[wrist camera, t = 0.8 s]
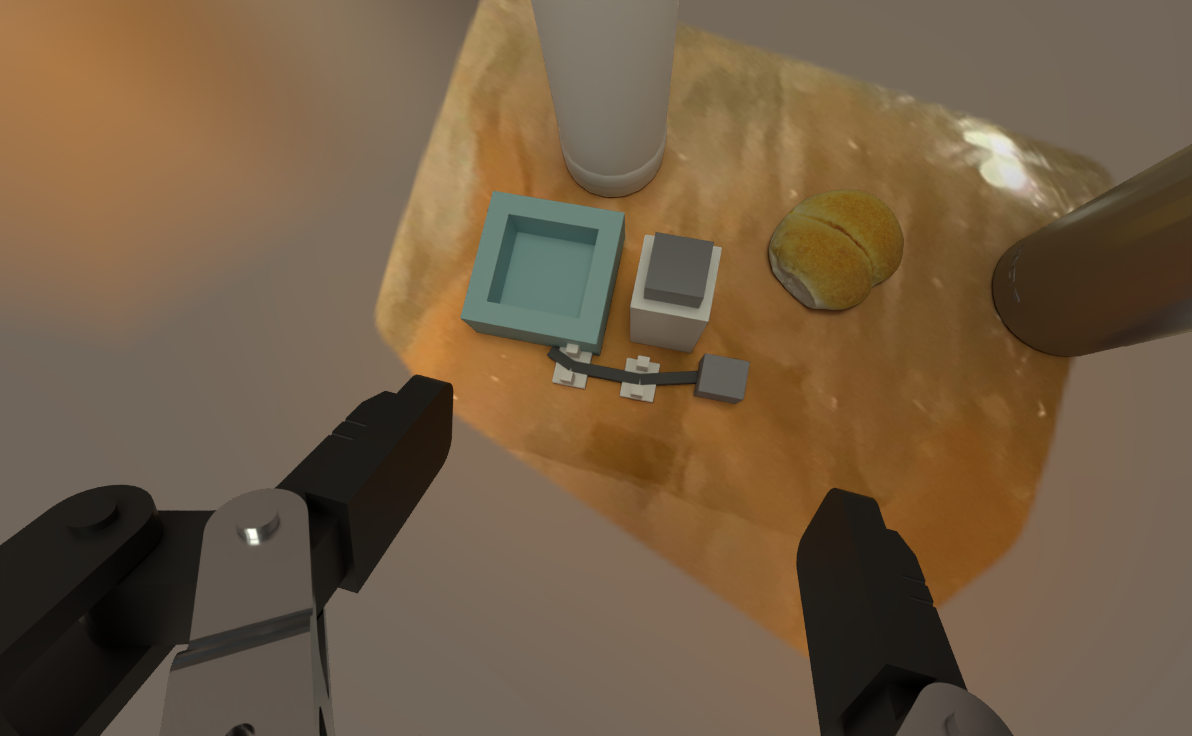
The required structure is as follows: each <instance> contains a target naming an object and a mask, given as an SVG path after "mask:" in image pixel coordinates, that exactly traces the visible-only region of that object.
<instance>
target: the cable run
mask: <svg viewBox="0 0 1192 736" xmlns="http://www.w3.org/2000/svg"><path fill="white" fill-rule="evenodd" d="M592 355H593V354H592V353H590V352H585V351H581V349H580V347H579V345H575V344H569V343H567V348H564V347H560V349H559V350H558V349H557V348H556V347H554V346H553V347H552V349H551V350H550V351H549V353H548V354H547V356H548V357H549V358H551V359H552V360H554V361H555V362H556V367H555V371H554V376H553V380H552V382H553V383H556V384H561V385H566V386H571V387H576V388H581V389H585V387H586V383H587V378H588V376H590V377H595V378H600V379H605V380H610V381H615V382H620V383H622V387H621V391H620V396H621V397H626V398H631V399H635V400H640V401H645V402H650V403H653V398H654V393H655V388H656V386H658V385H680V384H696V385H695V391H694V396H698V397H703V398H708V399H713V400H718V401H723V402H728V403H733V404H736V403H738V402H740V401H742V400H743V399H744V393H745V387H746V381H747V375H748V369H749V363H750V362H748V361H743V360H738V359H732V358H727V357H722V356H717V355H711V354H706V353H705V354H704V356H703V357H702V359H701V360H700V363H699V369H698V371H687V372H666V373H658V372H659V367H660V364H657V363H652V362H649V360H650V357H644V356H639V355H638V360H637V359H631V358H627V362H626V367H625V371H624V370H619V369H614V368H609V367H604V366H599V365H593V364H591V359H592Z"/></svg>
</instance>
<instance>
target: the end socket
mask: <svg viewBox="0 0 1192 736" xmlns="http://www.w3.org/2000/svg"><path fill="white" fill-rule="evenodd" d="M624 239H625V213H623V212H617V211H611V210H605V209H599V208H593V207H587V206H581V205H575V204H569V203H563V202H557V201H551V200H545V199H539V198H533V197H527V196H521V195H515V194H509V193H503V192H497V191H493V193H492V197H491V201H490V205H489V209H488V213H487V217H486V221H485V225H484V228H483V232H482V236H481V240H480V244H479V248H478V252H477V256H476V260H475V263H474V267H473V271H472V275H471V279H470V283H469V287H468V291H467V294H466V298H465V302H464V306H463V310H462V314H461V319H462V320H463V321H464V322H466V323H467V324H468V325H469V326H470V327H472V328H473V329H474V330H475V331H476V332H479V333H484V334H489V335H494V336H500V337H505V338H510V339H515V340H520V341H525V342H530V343H536V344H541V345H546V346H551V347H553V346H554V347H556V348H560V347H564V348H567V343H569V344H575V345H579V347H580V349H581V351H585V352H590V353H592V354H593V355H597V356H600V353H601V348H602V343H603V338H604V334H605V329H606V324H607V320H608V315H609V310H610V305H611V301H612V296H613V291H614V287H615V282H616V277H617V272H618V268H619V263H620V258H621V254H622V249H623V244H624Z"/></svg>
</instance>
